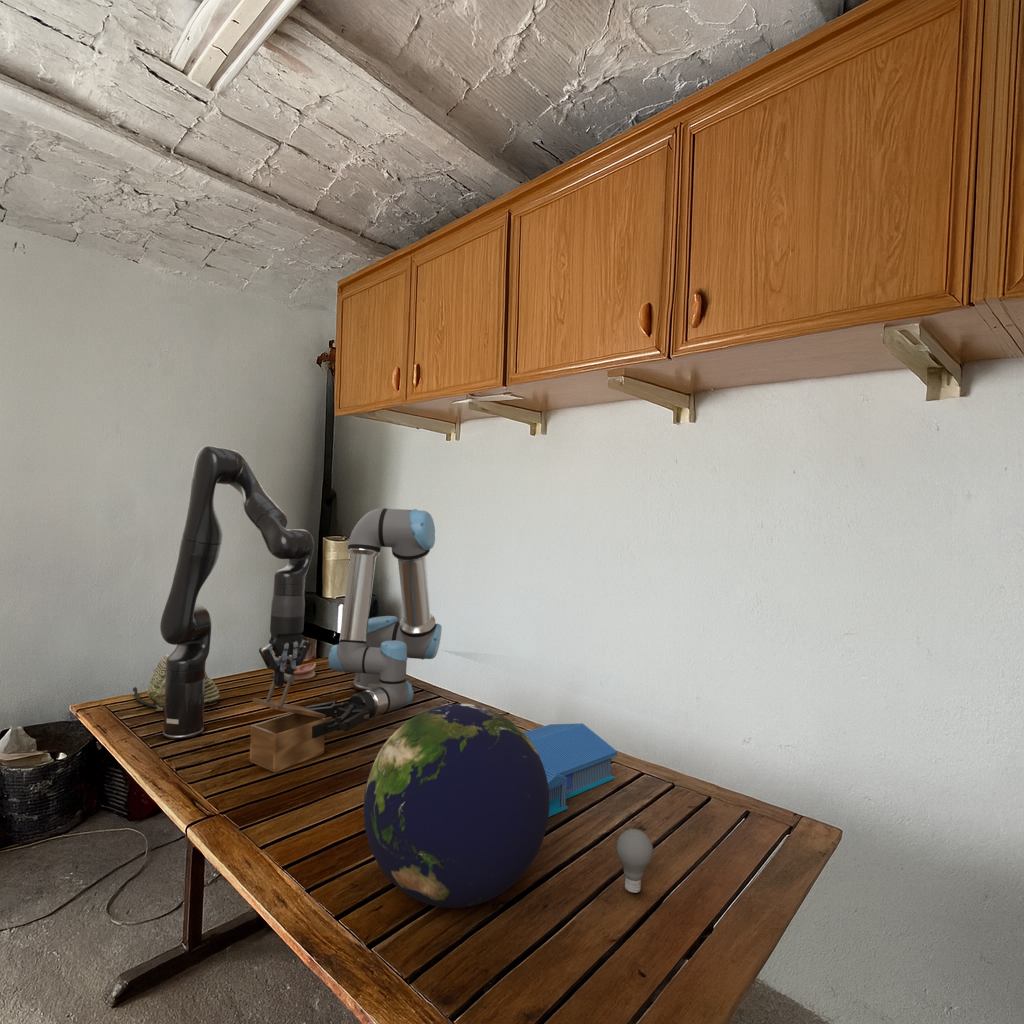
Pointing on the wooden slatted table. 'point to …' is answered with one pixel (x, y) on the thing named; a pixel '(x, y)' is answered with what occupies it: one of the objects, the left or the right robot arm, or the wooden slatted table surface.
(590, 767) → the model building
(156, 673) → the fossil
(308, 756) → the chest
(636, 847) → the light bulb
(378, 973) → the wooden slatted table surface
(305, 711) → the lid
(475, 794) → the globe
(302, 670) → the anatomical model
